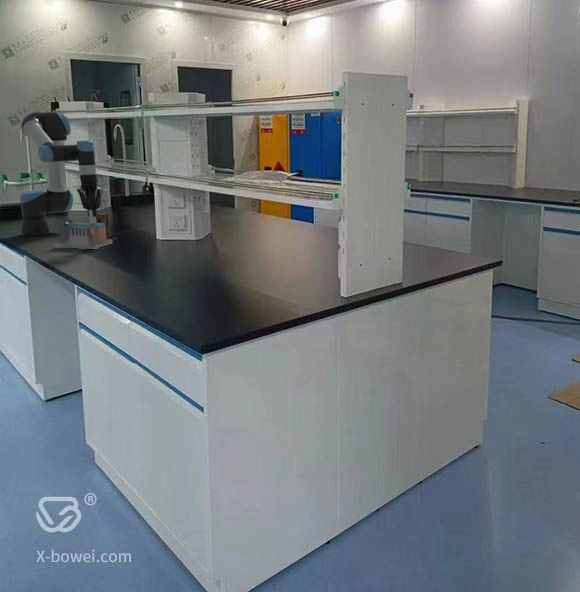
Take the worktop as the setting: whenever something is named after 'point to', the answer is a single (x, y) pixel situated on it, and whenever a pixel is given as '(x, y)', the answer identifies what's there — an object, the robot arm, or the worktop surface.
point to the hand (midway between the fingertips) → (93, 223)
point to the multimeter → (104, 221)
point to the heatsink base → (82, 237)
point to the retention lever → (85, 225)
